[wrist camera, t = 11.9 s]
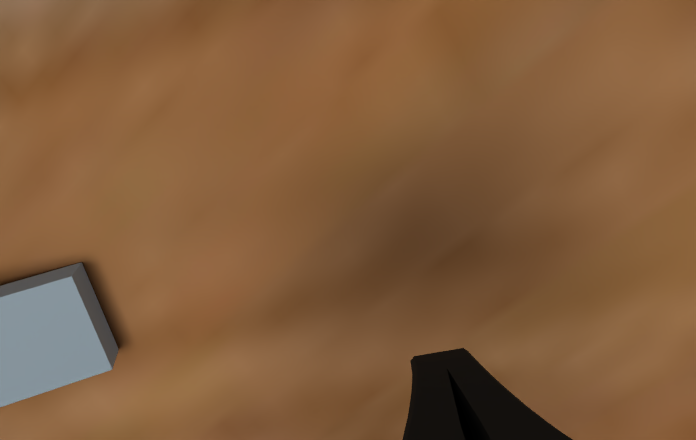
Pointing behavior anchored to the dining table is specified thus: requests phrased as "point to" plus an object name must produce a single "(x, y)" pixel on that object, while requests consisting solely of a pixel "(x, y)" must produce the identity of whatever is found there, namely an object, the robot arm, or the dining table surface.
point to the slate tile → (51, 333)
